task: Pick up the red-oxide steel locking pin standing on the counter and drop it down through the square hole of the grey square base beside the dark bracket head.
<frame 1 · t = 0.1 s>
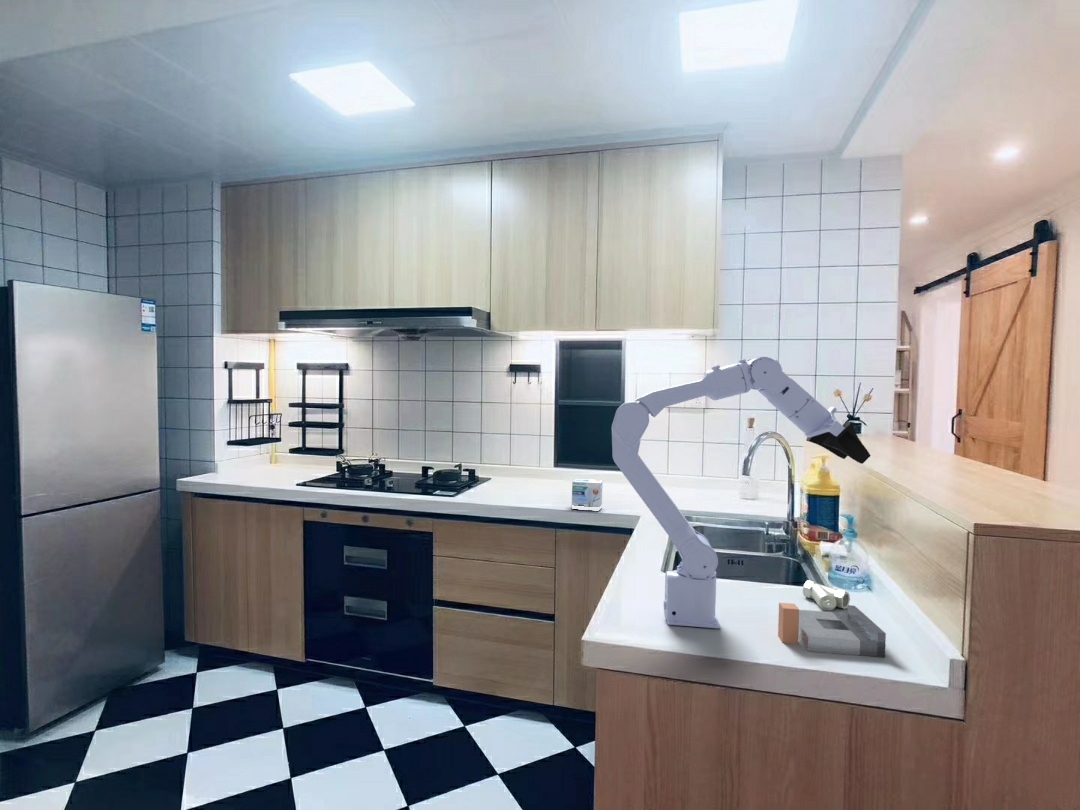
hand: (856, 457, 99), 32 cm above the countertop, tool tilted 50°, fingers open, 7 cm apart
locking pin: (787, 639, 96), on the countertop
pipe fitting: (821, 606, 113), on the countertop
light bulb box: (586, 509, 203), on the countertop
grey square base: (832, 638, 97), on the countertop
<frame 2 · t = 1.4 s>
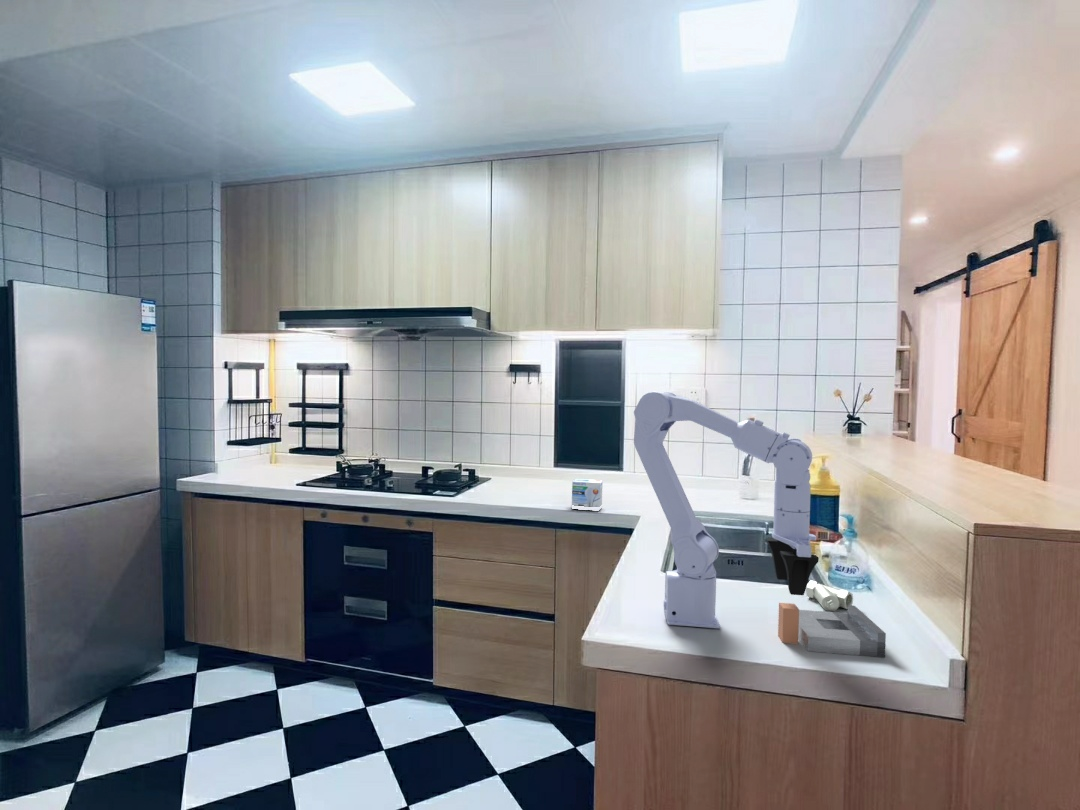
hand: (789, 586, 96), 9 cm above the countertop, tool pointing down, fingers open, 7 cm apart
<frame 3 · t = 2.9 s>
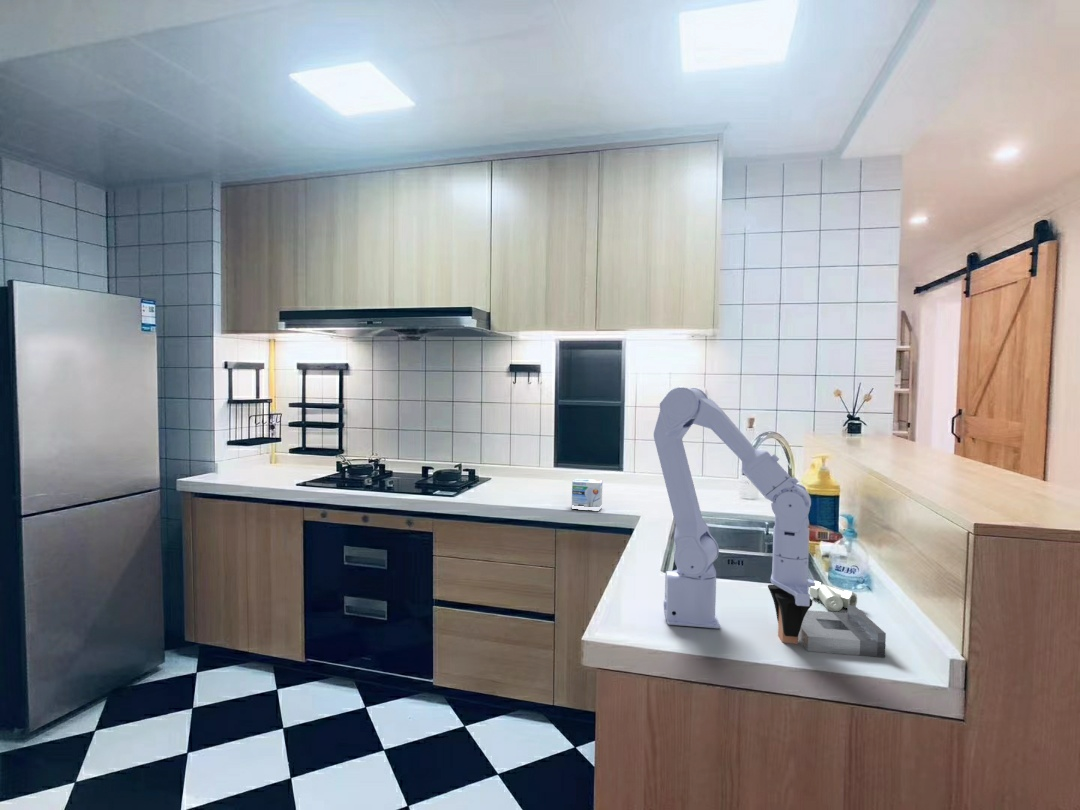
hand: (788, 631, 96), 1 cm above the countertop, tool pointing down, fingers closed on locking pin, 3 cm apart
locking pin: (788, 639, 96), on the countertop, touching gripper
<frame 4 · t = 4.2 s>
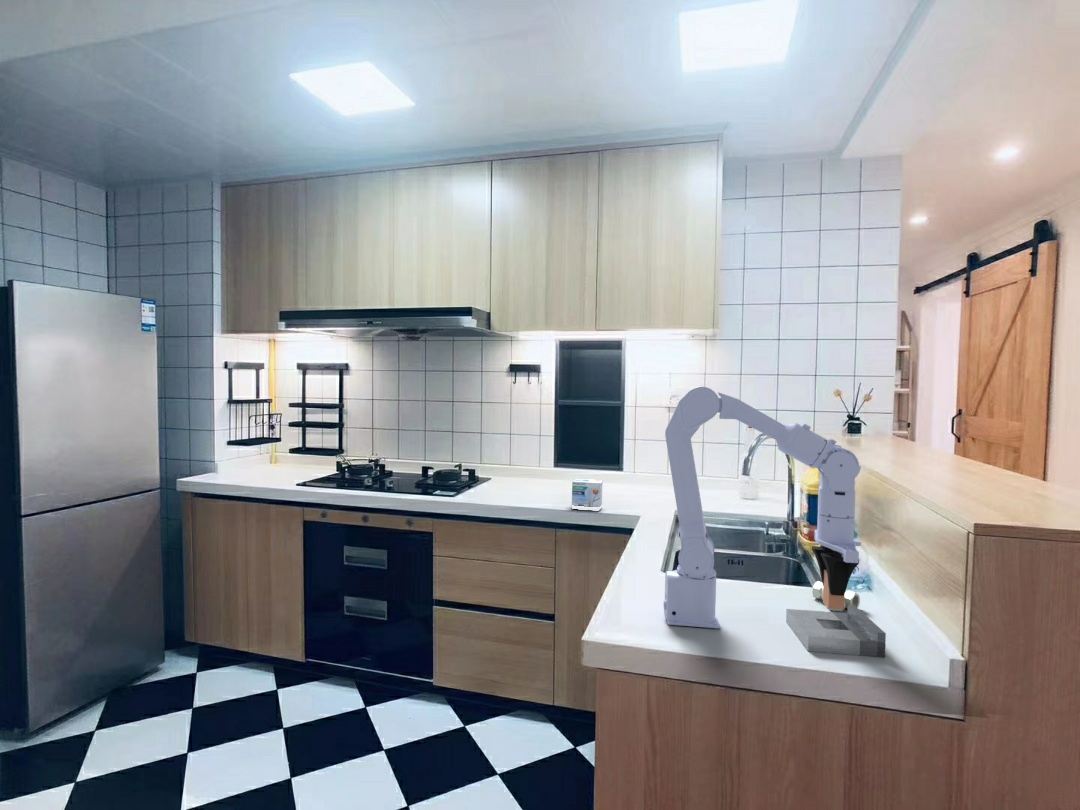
hand: (833, 591, 97), 8 cm above the countertop, tool pointing down, fingers closed on locking pin, 3 cm apart
locking pin: (833, 606, 97), point 6 cm above the countertop, touching gripper
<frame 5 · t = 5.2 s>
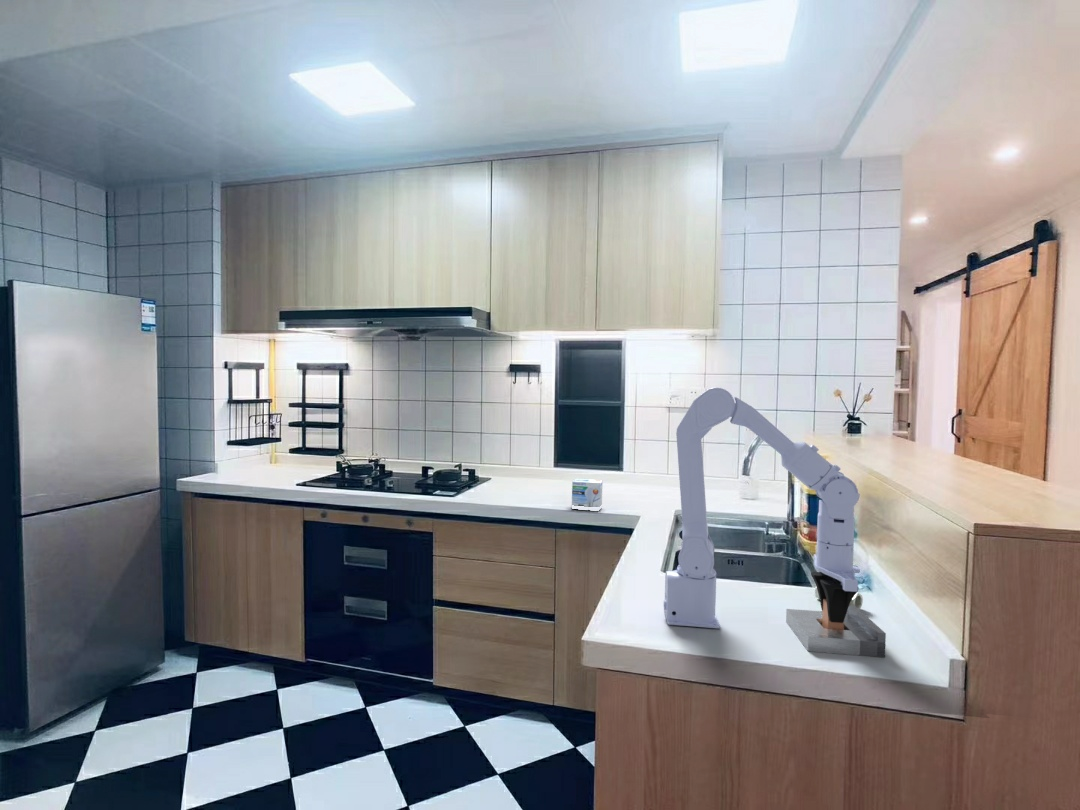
hand: (832, 618, 97), 4 cm above the countertop, tool pointing down, fingers closed on locking pin, 3 cm apart
locking pin: (832, 635, 97), resting in grey square base, touching gripper
when the fingers open (3 cm above the countertop, at t = 5.7 s): locking pin stays where it is, resting in grey square base.
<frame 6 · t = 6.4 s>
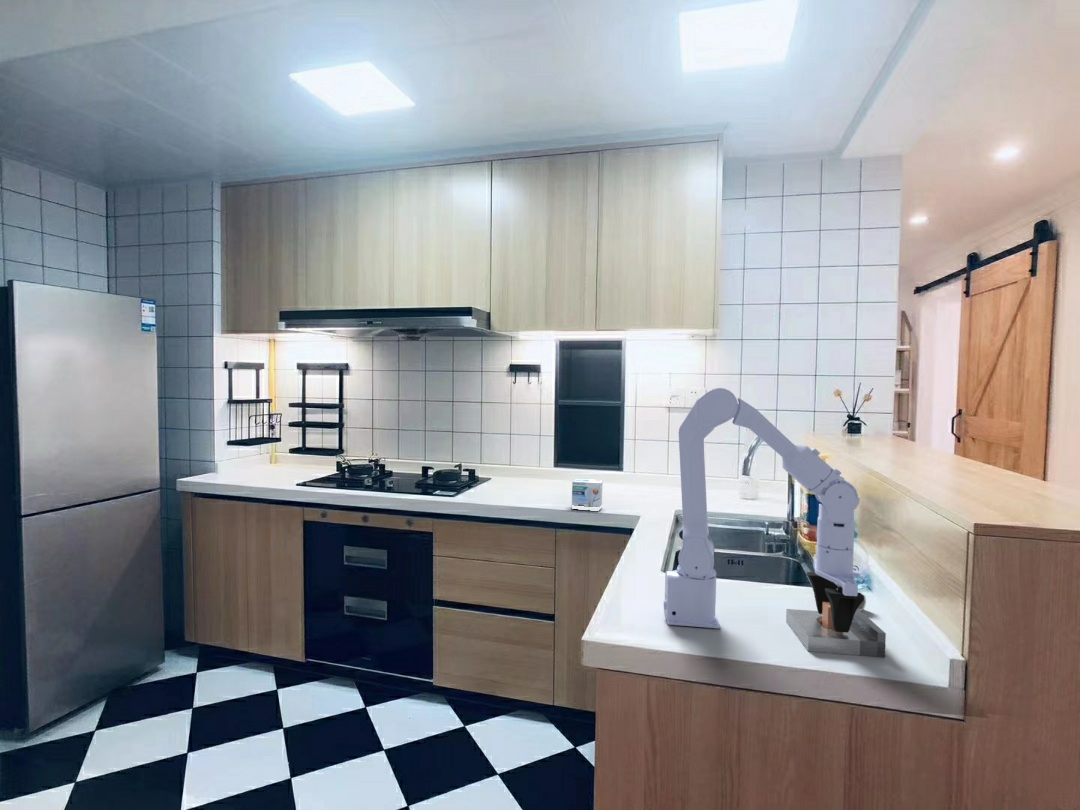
hand: (832, 622, 97), 3 cm above the countertop, tool pointing down, fingers open, 7 cm apart
locking pin: (832, 638, 97), resting in grey square base
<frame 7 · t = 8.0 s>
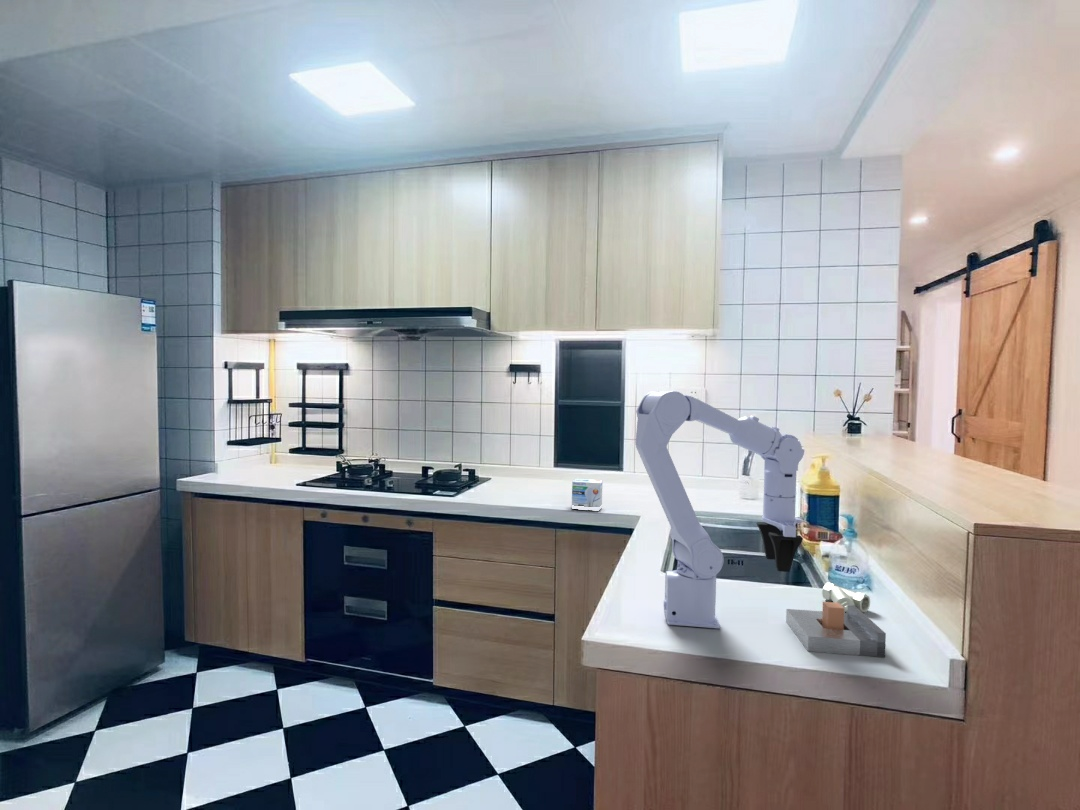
hand: (777, 564, 107), 10 cm above the countertop, tool pointing down, fingers open, 7 cm apart
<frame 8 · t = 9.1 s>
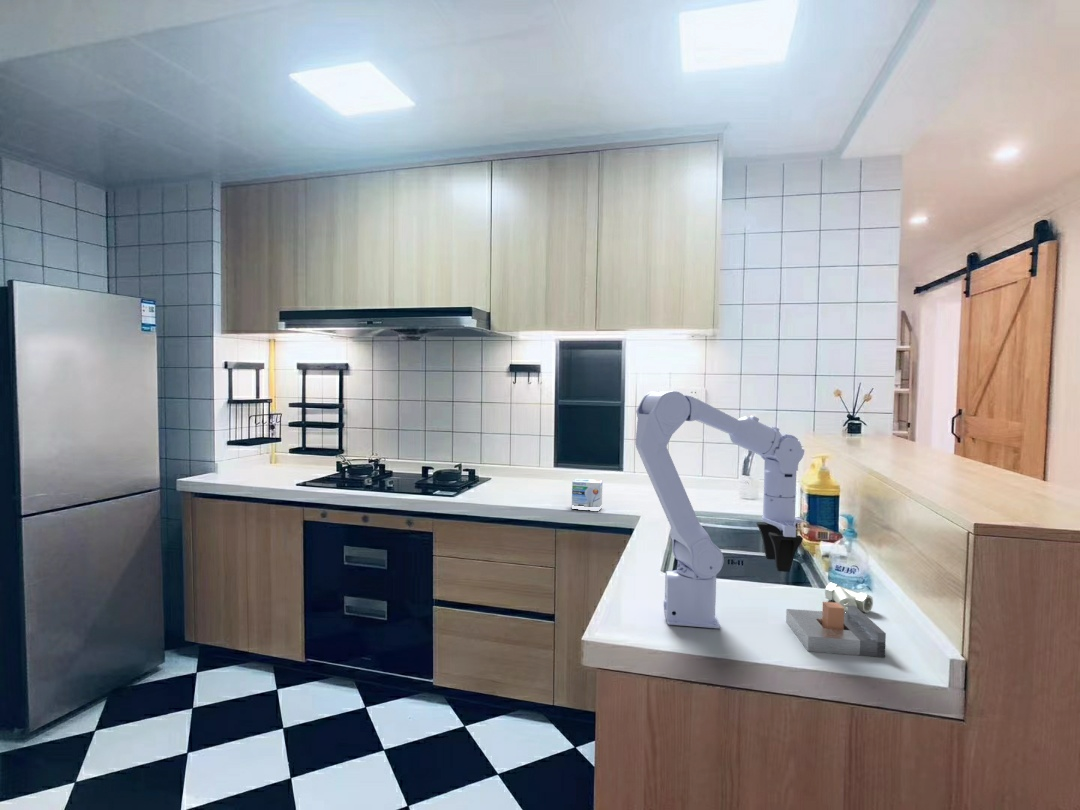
hand: (777, 564, 107), 10 cm above the countertop, tool pointing down, fingers open, 7 cm apart
at the end: locking pin 0.0 cm off-centre on the grey square base, point 0.0 cm above the grey square base's base; locking pin tilted 0°; the gripper is holding nothing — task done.
